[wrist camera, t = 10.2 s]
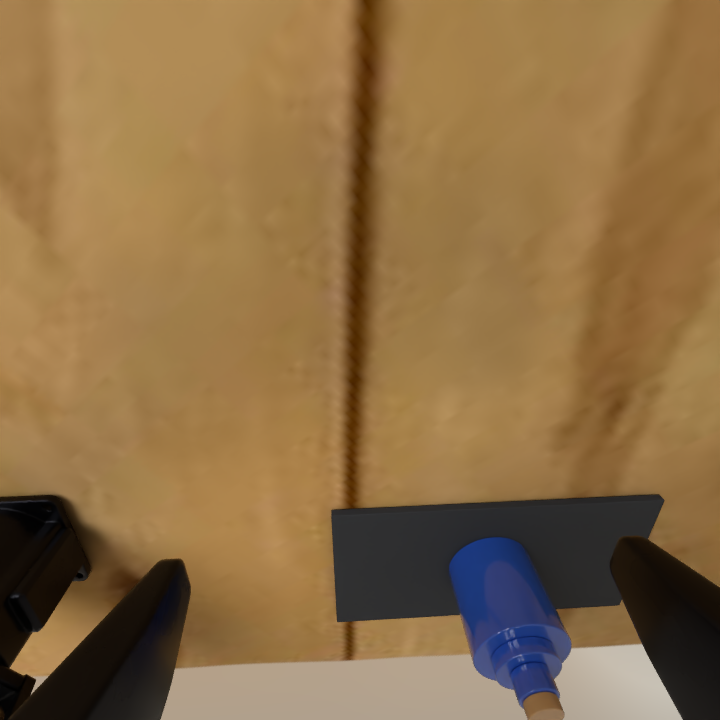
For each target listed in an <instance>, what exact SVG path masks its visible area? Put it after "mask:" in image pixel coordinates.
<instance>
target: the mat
mask: <svg viewBox="0 0 720 720" xmlns="http://www.w3.org/2000/svg"><path fill="white" fill-rule="evenodd" d="M663 503H664V499H663V498H662V497H661V496H660V495H638V496H616V497H595V498H574V499H553V500H532V501H511V502H490V503H469V504H447V505H426V506H405V507H384V508H363V509H342V510H332V535H333V554H334V573H335V592H336V611H337V622H348V621H365V620H381V619H398V618H415V617H431V616H448V615H460V613H459V609H458V606H457V602H456V599H455V595H454V591H453V588H452V584H451V580H450V577H449V565H450V562H451V560H452V558H453V557H454V555H455V554H456V553H457V552H458V551H459V550H460V549H462V548H463V547H465V546H466V545H468V544H470V543H472V542H474V541H477V540H480V539H484V538H490V537H504V538H509V539H512V540H515V541H517V542H519V543H520V544H521V545H523V546H524V547H525V549H526V550H527V552H528V554H529V556H530V558H531V560H532V562H533V564H534V566H535V568H536V570H537V572H538V574H539V576H540V578H541V580H542V582H543V584H544V586H545V588H546V590H547V592H548V595H549V597H550V599H551V601H552V603H553V605H554V607H555V609H565V608H581V607H598V606H615V605H620V602H621V600H622V598H621V595H620V593H619V591H618V589H617V586H616V584H615V582H614V580H613V577H612V575H611V572H610V566H609V564H610V559H611V557H612V554H613V552H614V549H615V546H616V544H617V541H618V539H619V538H620V537H622V536H636V535H637V536H642V537H644V538H646V539H648V537H649V535H650V533H651V530H652V528H653V526H654V523H655V521H656V519H657V517H658V514H659V512H660V510H661V507H662V505H663Z"/></svg>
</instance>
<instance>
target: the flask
mask: <svg viewBox="0 0 720 720" xmlns="http://www.w3.org/2000/svg"><path fill="white" fill-rule="evenodd" d="M449 577H450V580H451V584H452V588H453V591H454V595H455V599H456V602H457V606H458V609H459V613H460V617H461V620H462V624H463V628H464V631H465V635H466V638H467V642H468V646H469V649H470V653H471V657H472V660H473V664H474V666H475V668H476V670H477V671H478V672H479V673H480V674H481V675H483V676H484V677H486V678H488V679H491V680H495V681H497V682H498V683H499V684H500V685H501V686H503V687H505V688H508V689H513V690H514V691H515V693H516V697H517V700H518V702H519V705H520V706H521V707H522V708H523V709H524V710H525V713H526V716H527V719H528V720H562V719H563V718H564V711H563V709H562V706H561V704H560V701H559V698H560V694H559V691H558V689H557V686H556V684H555V681H554V679H555V678H556V676H558V674H559V673H560V671H561V669H562V663H563V662H564V661H565V660H566V658H567V657H568V655H569V653H570V651H571V639H570V637H569V635H568V633H567V631H566V629H565V627H564V625H563V623H562V621H561V619H560V617H559V615H558V613H557V611H556V609H555V607H554V605H553V603H552V601H551V599H550V597H549V595H548V592H547V590H546V588H545V586H544V584H543V582H542V580H541V578H540V576H539V574H538V572H537V570H536V568H535V566H534V564H533V562H532V560H531V558H530V556H529V554H528V552H527V550H526V549H525V547H524V546H523V545H521V544H520V543H519V542H517V541H515V540H512V539H509V538H504V537H490V538H484V539H480V540H477V541H474V542H472V543H470V544H468V545H466V546H465V547H463V548H462V549H460V550H459V551H458V552H457V553H456V554H455V555H454V557H453V558H452V560H451V562H450V565H449Z"/></svg>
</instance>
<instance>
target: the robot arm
mask: <svg viewBox="0 0 720 720" xmlns="http://www.w3.org/2000/svg"><path fill="white" fill-rule="evenodd" d="M609 566H610V572H611V575H612V577H613V580H614V582H615V584H616V586H617V589H618V591H619V593H620V595H621V598H622V600H623V602H624V604H625V606H626V609H627V611H628V613H629V615H630V618H631V620H632V622H633V624H634V627H635V629H636V631H637V633H638V636H639V638H640V640H641V642H642V644H643V646H644V649H645V651H646V653H647V655H648V657H649V659H650V660H651V662H652V664H653V666H654V668H655V669H656V672H657V673H658V675H659V677H660V679H661V680H662V683H663V684H664V686H665V687H666V690H667V692H668V693H669V695H670V697H671V699H672V701H673V702H674V704H675V706H676V708H677V710H678V712H679V713H680V715H681V717H682V719H683V720H720V587H718V586H717V585H715V584H714V583H712V582H711V581H709V580H708V579H706V578H705V577H703V576H702V575H700V574H699V573H697V572H696V571H694V570H693V569H691V568H690V567H688V566H687V565H685V564H684V563H682V562H681V561H679V560H678V559H676V558H675V557H673V556H672V555H670V554H669V553H667V552H666V551H664V550H663V549H661V548H660V547H658V546H657V545H655V544H654V543H652V542H651V541H649V540H648V539H646V538H644V537H642V536H637V535H636V536H622V537H620V538H619V539H618V541H617V544H616V546H615V549H614V552H613V554H612V557H611V559H610V564H609ZM90 573H91V568H90V565H89V563H88V561H87V559H86V556H85V554H84V552H83V550H82V547H81V545H80V543H79V541H78V538H77V536H76V534H75V532H74V529H73V527H72V525H71V523H70V520H69V518H68V516H67V514H66V511H65V509H64V507H63V505H62V502H61V501H60V499H59V498H57V497H55V496H53V495H40V496H17V497H0V720H160V719H161V716H162V712H163V709H164V706H165V703H166V700H167V696H168V693H169V690H170V686H171V682H172V678H173V674H174V670H175V665H176V660H177V656H178V651H179V646H180V642H181V637H182V632H183V628H184V623H185V618H186V614H187V609H188V604H189V600H190V593H191V586H190V582H189V578H188V575H187V571H186V568H185V564H184V562H183V560H181V559H164V560H161V561H159V562H158V563H157V564H156V565H155V566H154V567H153V568H152V569H151V570H150V571H149V572H148V573H147V574H146V575H145V576H144V577H143V578H142V579H141V580H140V581H139V582H138V583H137V584H136V586H135V587H134V588H133V589H132V590H131V591H130V592H129V593H128V594H127V595H126V596H125V597H124V598H123V599H122V600H121V601H120V602H119V603H118V604H117V605H116V606H115V608H114V609H113V610H112V611H111V612H110V613H109V614H108V615H107V616H106V617H105V618H104V619H103V620H102V621H101V622H100V623H99V624H98V625H97V626H96V627H95V628H94V630H93V631H92V632H91V633H90V634H89V635H88V636H87V637H86V638H85V639H84V640H83V641H82V642H81V643H80V644H79V645H78V646H77V647H76V648H75V649H74V650H73V652H72V653H71V654H70V655H69V656H68V657H67V658H66V659H65V660H64V661H63V662H62V663H61V664H60V665H59V666H58V667H57V668H56V669H55V670H54V671H53V672H52V674H51V675H50V676H49V677H48V678H47V679H46V680H45V681H44V682H43V683H42V684H41V685H40V686H39V687H38V688H37V689H36V690H35V692H33V693H32V695H31V692H32V690H33V687H34V685H35V682H36V679H34V678H33V677H31V676H29V675H27V674H26V675H21V674H19V673H17V672H15V671H14V670H12V669H10V666H11V665H12V663H13V662H14V660H15V659H16V657H17V656H18V654H19V652H20V651H21V649H22V648H23V646H24V645H25V643H26V642H27V640H28V639H29V637H30V635H31V634H32V632H38V631H40V630H41V629H42V628H43V627H44V625H45V624H46V622H47V621H48V619H49V617H50V616H51V614H52V613H53V611H54V610H55V608H56V606H57V605H58V603H59V602H60V600H61V598H62V597H63V595H64V594H65V592H66V590H67V589H68V587H69V586H70V584H71V583H72V581H84V580H86V579H87V578H88V576H89V574H90ZM30 695H31V696H30Z"/></svg>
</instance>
